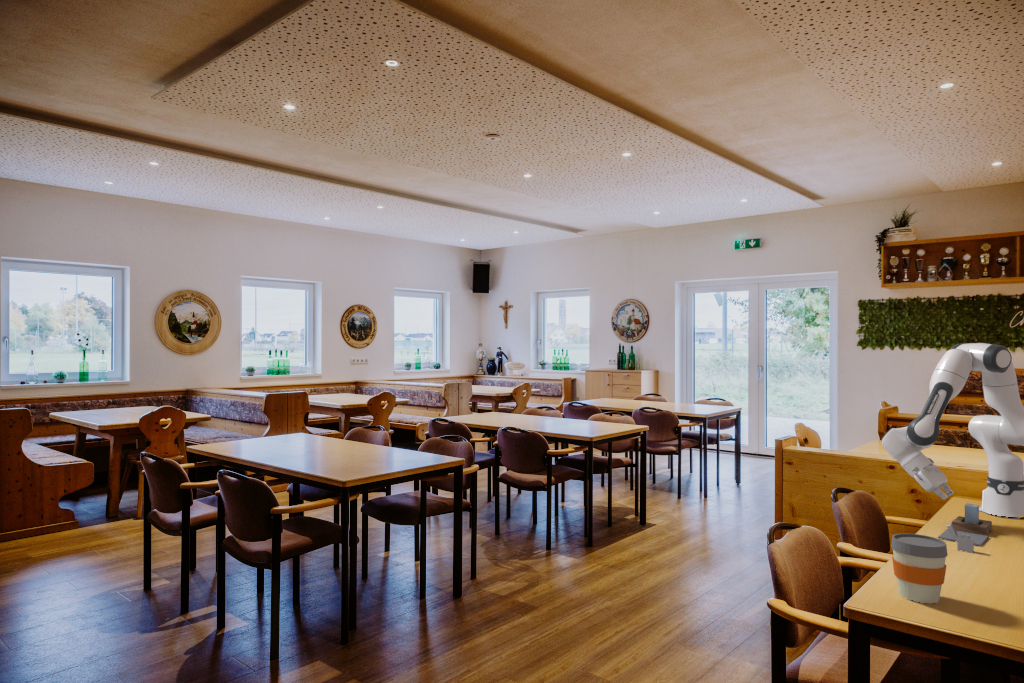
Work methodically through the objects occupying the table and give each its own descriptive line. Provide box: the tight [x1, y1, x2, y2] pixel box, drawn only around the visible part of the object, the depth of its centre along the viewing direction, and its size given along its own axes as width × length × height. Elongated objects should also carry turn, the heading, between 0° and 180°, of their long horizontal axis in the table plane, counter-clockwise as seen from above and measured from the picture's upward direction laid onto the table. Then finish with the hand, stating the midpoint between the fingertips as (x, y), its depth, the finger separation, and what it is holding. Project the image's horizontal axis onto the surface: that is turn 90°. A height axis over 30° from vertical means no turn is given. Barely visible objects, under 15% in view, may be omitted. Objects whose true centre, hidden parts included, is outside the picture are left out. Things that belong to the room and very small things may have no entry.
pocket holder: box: [951, 515, 993, 536], centre depth 231 cm, size 12×10×3 cm
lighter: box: [946, 523, 975, 554], centre depth 207 cm, size 7×2×8 cm, turn 45°
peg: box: [964, 503, 980, 525], centre depth 231 cm, size 4×4×9 cm
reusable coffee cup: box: [890, 533, 948, 605], centre depth 167 cm, size 12×13×15 cm
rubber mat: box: [937, 528, 989, 547], centre depth 220 cm, size 14×12×1 cm
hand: (949, 496), depth 236 cm, fingers open, 8 cm apart
